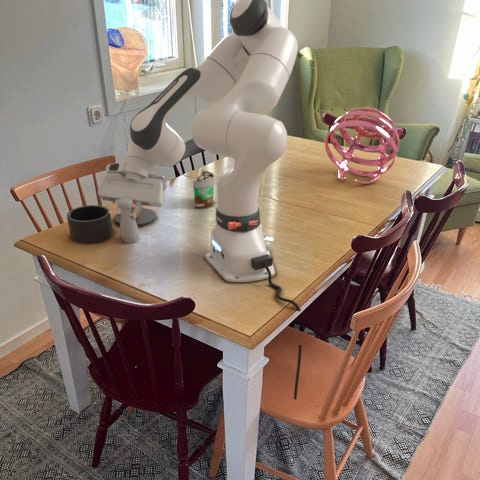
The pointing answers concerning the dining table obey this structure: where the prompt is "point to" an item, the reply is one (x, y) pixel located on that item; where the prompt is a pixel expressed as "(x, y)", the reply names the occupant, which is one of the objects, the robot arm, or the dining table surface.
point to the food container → (204, 190)
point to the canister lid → (141, 216)
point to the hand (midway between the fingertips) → (125, 216)
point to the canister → (90, 224)
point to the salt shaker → (127, 221)
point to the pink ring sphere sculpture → (355, 144)
